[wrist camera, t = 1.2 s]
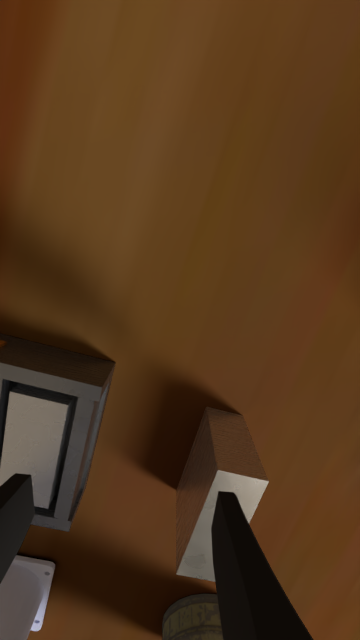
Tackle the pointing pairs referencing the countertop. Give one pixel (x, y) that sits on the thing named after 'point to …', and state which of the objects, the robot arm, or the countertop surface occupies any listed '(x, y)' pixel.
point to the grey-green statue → (193, 619)
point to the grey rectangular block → (214, 487)
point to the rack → (50, 423)
